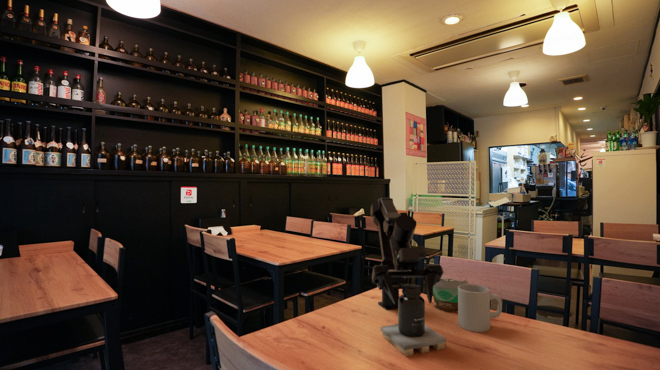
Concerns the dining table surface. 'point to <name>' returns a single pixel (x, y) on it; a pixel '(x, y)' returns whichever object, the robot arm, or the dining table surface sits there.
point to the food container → (447, 294)
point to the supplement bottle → (411, 311)
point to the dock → (413, 340)
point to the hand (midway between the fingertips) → (413, 303)
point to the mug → (476, 307)
